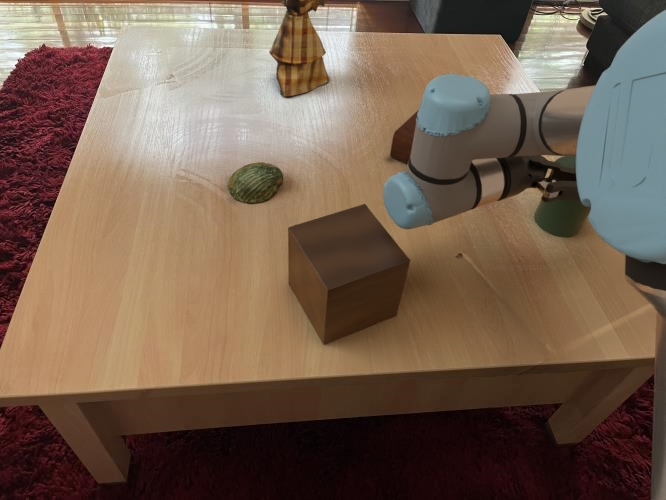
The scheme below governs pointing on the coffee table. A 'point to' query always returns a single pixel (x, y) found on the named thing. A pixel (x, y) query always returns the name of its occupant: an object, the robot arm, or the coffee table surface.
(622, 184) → the robot arm
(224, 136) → the coffee table surface
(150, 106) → the coffee table surface
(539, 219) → the tin
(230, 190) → the seashell
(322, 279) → the stand
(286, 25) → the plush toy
